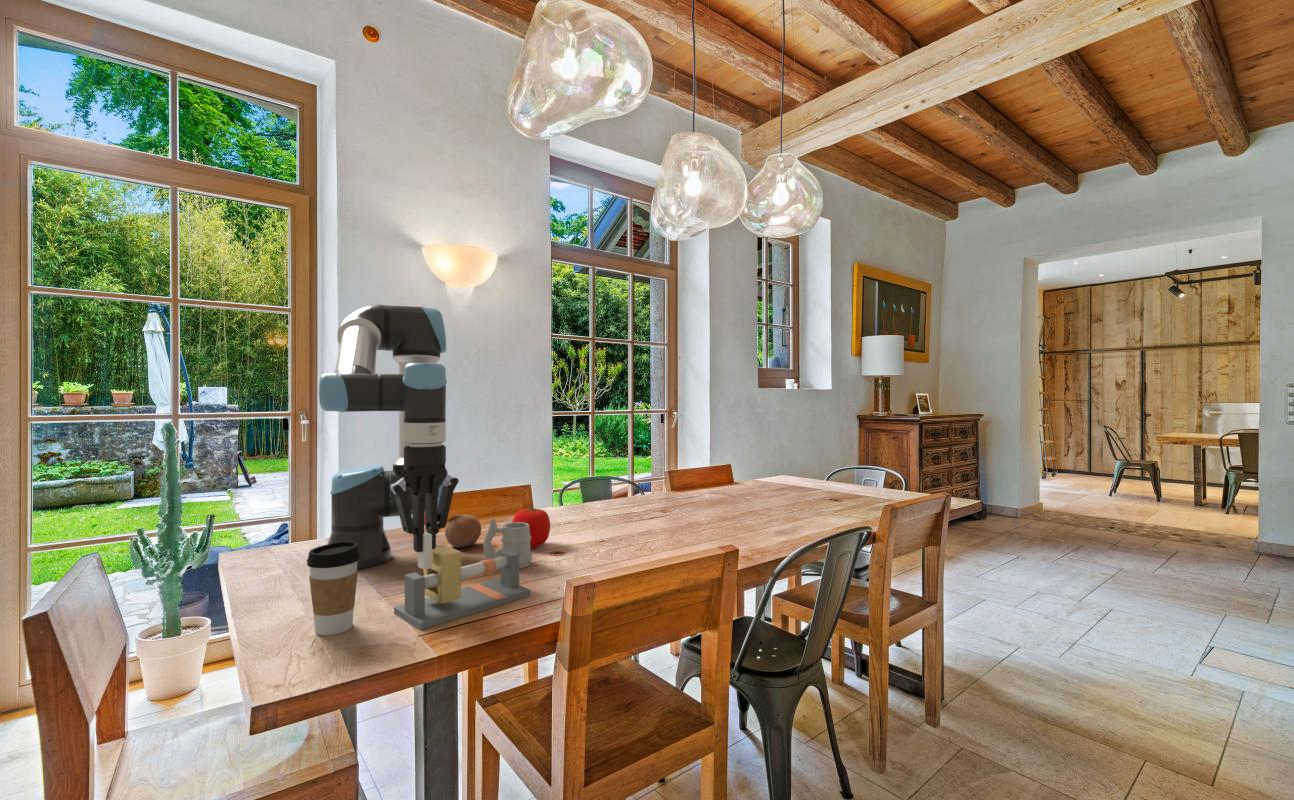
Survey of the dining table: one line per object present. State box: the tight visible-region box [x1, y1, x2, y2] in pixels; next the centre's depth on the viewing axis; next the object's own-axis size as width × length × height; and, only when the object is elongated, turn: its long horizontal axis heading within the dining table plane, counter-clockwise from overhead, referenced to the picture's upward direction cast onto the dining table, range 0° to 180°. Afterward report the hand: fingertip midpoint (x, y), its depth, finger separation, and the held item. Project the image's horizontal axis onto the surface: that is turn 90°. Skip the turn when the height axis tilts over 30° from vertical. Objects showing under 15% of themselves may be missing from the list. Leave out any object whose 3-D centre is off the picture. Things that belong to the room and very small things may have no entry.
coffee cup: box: [306, 541, 360, 637], centre depth 103 cm, size 8×8×15 cm
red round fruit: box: [511, 507, 551, 549], centre depth 157 cm, size 10×11×11 cm
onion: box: [444, 514, 482, 549], centre depth 156 cm, size 10×9×10 cm
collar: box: [423, 544, 462, 604], centre depth 111 cm, size 7×4×9 cm, turn 47°
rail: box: [393, 550, 532, 631], centre depth 115 cm, size 11×24×8 cm, turn 137°
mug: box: [482, 518, 533, 569], centre depth 140 cm, size 8×12×12 cm, turn 114°
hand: (424, 567), depth 109 cm, fingers closed
